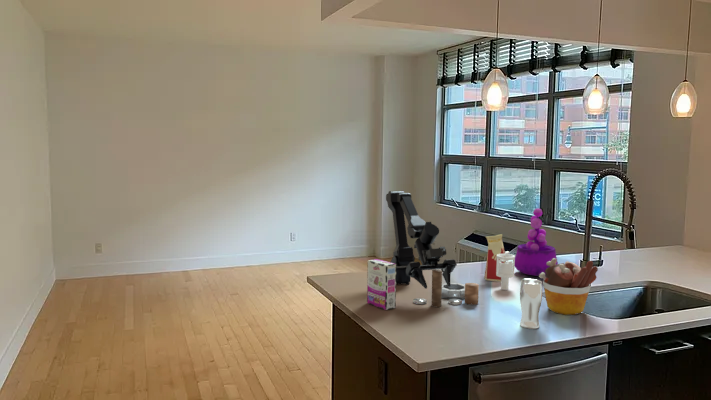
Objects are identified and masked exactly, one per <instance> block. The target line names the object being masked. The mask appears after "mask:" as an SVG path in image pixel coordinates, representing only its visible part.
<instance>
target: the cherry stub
mask: <svg viewBox="0 0 711 400" xmlns="http://www.w3.org/2000/svg"><path fill="white" fill-rule="evenodd" d="M464 285H465V299H464V304H465V305H469V306H475V305H476V306H477V305H478V304H479V291H480V290H479V288H480V286H479V285H480V284H479V283H476V282H466V283H465V284H464Z"/></svg>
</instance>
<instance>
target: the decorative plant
mask: <svg viewBox="0 0 711 400" xmlns="http://www.w3.org/2000/svg"><path fill="white" fill-rule="evenodd" d="M532 213H533V215H532V216H531V217H530V226H531V228H532V229H531V228H530V229H529V230H528V231H527V240H528V241H527V242H526V243H523V244H519V245H518V246H517V249H516V254H515V255H514V256H515V266H514V269H516V270H517V271H518V272H520V273H522V274H525V275H528V276H533V277H539V275H540V274H541V273H542V272H544V273H545V270H546V269H547V268H548V267H550V266H548V265H547V262H549V261H551V260H552V259H553V258H556V259H557V260H558V258H557V252H556V250H557V249H556V248H555V247H554V246H551V245H548V241H547V240H546V236H547V231H546V230H545V229H543V228H541V227H542V225H543V222H542V219H540V217H542V215H543V210H542V209H541V208H538V207H537V208H535V209H534V210H533V211H532ZM556 264H559V262H558V261H557V262H556ZM545 276H546V273H545Z"/></svg>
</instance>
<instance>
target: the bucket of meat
mask: <svg viewBox="0 0 711 400" xmlns="http://www.w3.org/2000/svg"><path fill="white" fill-rule="evenodd" d="M556 258H557V257H556ZM556 258H553V259H552V260H551V261H549V262H547V265H548V266H550V267H548V268H547V269H546V270H545V273H546V275H545V273H544V272H542V273H541V274H540V275H539V276H538V277H539V278H540V279H543V280H542V286H543V291H544V295H545V300H546V305H547V308H548V309H549V311H551V312H552V313H555V314H559V315H564V316H566V315H567V316H575V315H579V314H581V313H582V312H584V309H585V307H586V303H587V300H588V296H589V293H590V290H591V287H592V286H591V284H592V283H594V282H595V281H596V280H597V279H598V278H597V275H596V274H597V272H598V271H599V269H598V268H599V267H598V266H596V265H594V262H593V260H588V261H587V262H586V265H585V266H583V267H580V266H579V265H578V264H576V263H574V262H571V261H567V260H566V261H565V262H563V263H558V264H556V262H558V258H557V259H556Z"/></svg>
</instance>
